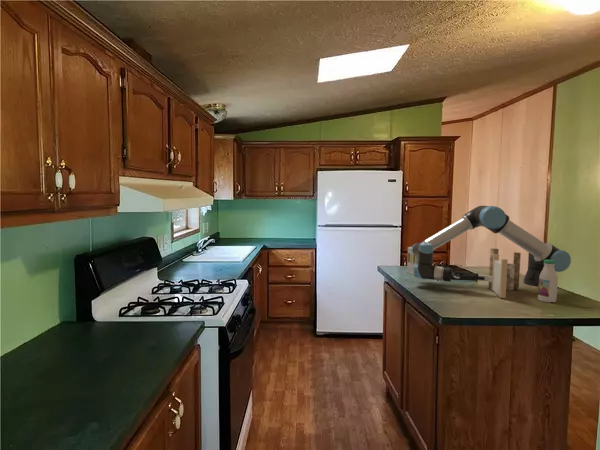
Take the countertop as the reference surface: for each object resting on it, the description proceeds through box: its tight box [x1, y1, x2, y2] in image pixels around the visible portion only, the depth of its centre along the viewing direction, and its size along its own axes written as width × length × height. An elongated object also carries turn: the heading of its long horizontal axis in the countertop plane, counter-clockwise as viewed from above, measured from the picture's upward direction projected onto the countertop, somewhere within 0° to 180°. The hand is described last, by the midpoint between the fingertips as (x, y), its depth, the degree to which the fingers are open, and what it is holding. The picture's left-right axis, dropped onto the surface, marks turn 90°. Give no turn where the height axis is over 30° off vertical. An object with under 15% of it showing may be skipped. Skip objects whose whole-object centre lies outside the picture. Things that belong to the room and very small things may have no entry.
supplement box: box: [406, 246, 418, 276], centre depth 256 cm, size 10×9×17 cm
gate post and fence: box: [488, 248, 521, 291], centre depth 216 cm, size 16×4×22 cm, turn 91°
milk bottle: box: [537, 260, 559, 303], centre depth 194 cm, size 8×8×20 cm
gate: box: [491, 253, 510, 299], centre depth 204 cm, size 18×4×19 cm, turn 167°
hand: (491, 278), depth 204 cm, fingers closed
